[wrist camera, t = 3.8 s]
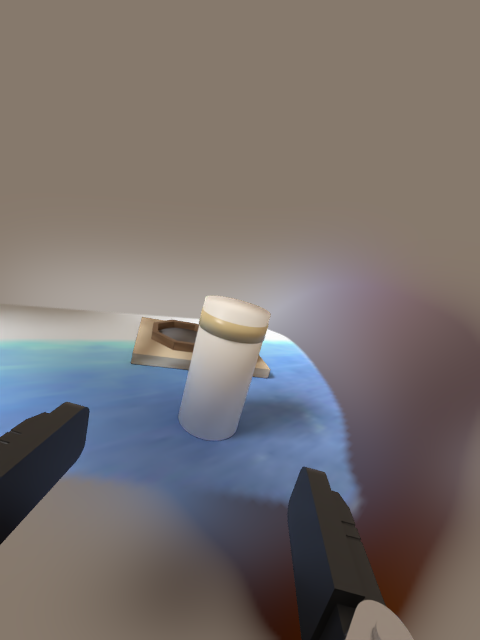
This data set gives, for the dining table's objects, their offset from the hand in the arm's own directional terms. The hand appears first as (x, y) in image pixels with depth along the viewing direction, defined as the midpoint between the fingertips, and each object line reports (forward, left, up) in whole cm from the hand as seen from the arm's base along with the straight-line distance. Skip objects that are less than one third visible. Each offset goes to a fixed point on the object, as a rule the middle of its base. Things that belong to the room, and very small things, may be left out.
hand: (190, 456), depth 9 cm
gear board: (+5, +26, -6) cm, 27 cm away
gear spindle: (+4, +11, -6) cm, 13 cm away
